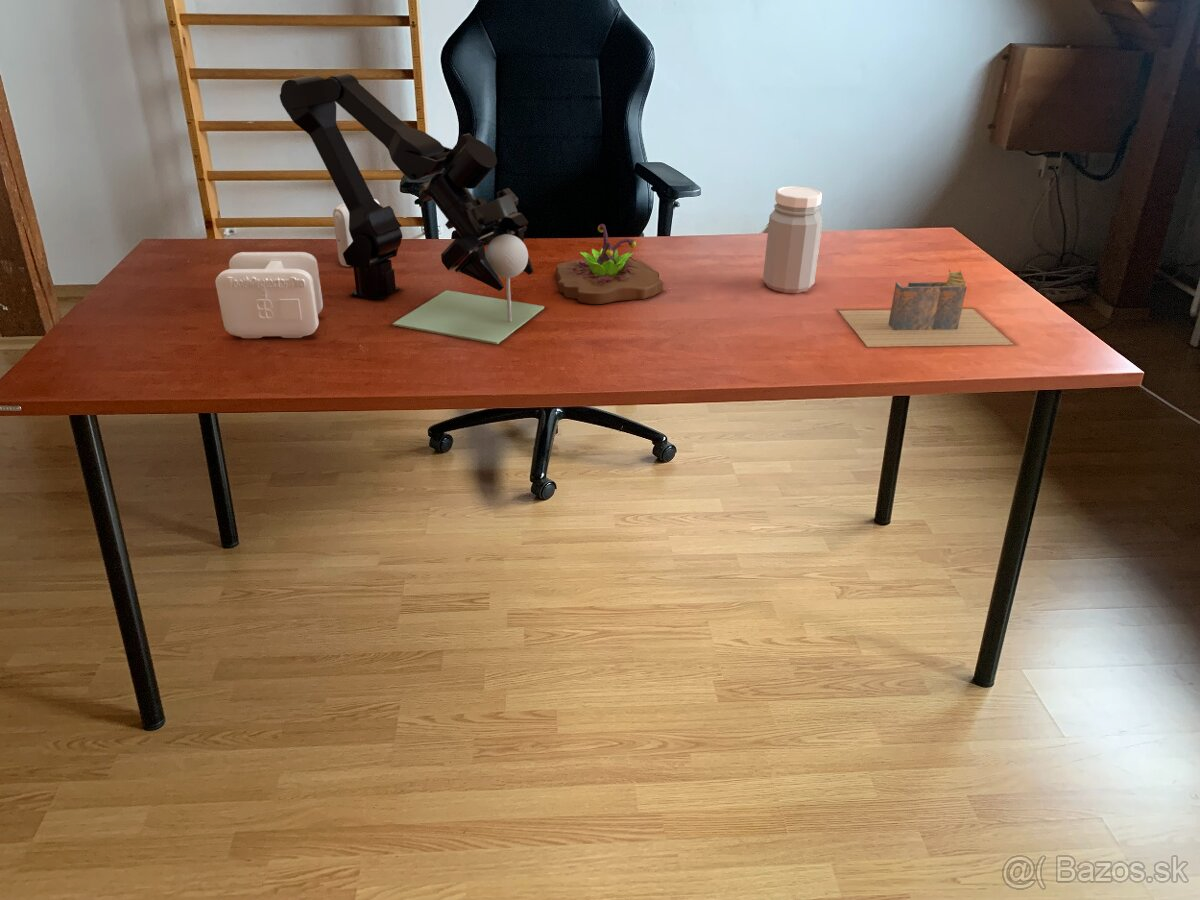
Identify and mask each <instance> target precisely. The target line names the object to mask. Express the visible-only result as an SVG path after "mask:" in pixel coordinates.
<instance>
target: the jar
mask: <svg viewBox="0 0 1200 900" xmlns="http://www.w3.org/2000/svg"><path fill="white" fill-rule="evenodd" d="M822 198H823V193H822V192H821V190H818V189H816V188H813V187H807V186H801V185H799V186H798V185H797V186H796V185H790V186H782V187H780V188H778V189H775V198H774V201H775V204H774V205H773V207H774V210H773V211H772V212H771V213H770V214H769V218H768V228H767V236H766V247H765V254H764V255H765V257H764V266H763V274H762V275H763V276H762V279H763V282H764V284H765V285H766V287H767V288H769V289H770V290H773V291H775V292H780V293H784V294H798V293H804V292H806V291H808V290H809V289H810V288H812V286H813V285H815V282H816V274H817V265H818V259H819V251H820V244H821V237H822V230H823V222H824V220H823V218H822V216H821V214H820V213H819V212H821V208H820V205H822V202H823V201H822V200H823V199H822Z"/></svg>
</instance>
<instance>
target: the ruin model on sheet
mask: <svg viewBox="0 0 1200 900" xmlns="http://www.w3.org/2000/svg"><path fill="white" fill-rule="evenodd" d="M967 288H968V287H967V285H966V280H965V278H964V275H963V272H962V270H961V269H959V271H951V269H948V278H947V280H946V281H932V282H931V281H926V282H925V281H921V282H920V281H917V282H915V281H914V282H910V281H909V282H908V285H907V286H902V285H901V284H900V283H899V282H895V286H894V292H893V296H892V302H891V309H860V310H859V309H857V310H855V309H854V310H853V309H852V310H848V309H847V310H846V309H845V310H838V312H839V313H840V315H841V316H842V318H844V320H845V321H846V323H847V324H848V325H849V326H850V328H851V329H852V330H853V331H854V333H856V335H857V336H858V337H859V338H860V340H862V342H863V343H864V345H865V346H866V347H867V348H878V347H879V348H880V347H885V348H886V347H944V346H945V347H947V346H949V347H950V346H1005V345H1006V346H1008V345H1012V346H1013V345H1015V344H1014V343H1012V341H1011V340H1009V339H1008V338H1007V337H1006V336H1004V335H1003V334H1002V333H1001V332H1000V331H999V330H998V329H996V327H994V326H993V325H992V324H991V323H989V321H988V320H986V319H985V318H984V317H983V316H982V315H981V314H979V313H978V312H977V311H976V310H975V309H973V308H963V306H964V302H965V298H966V297H965V296H966V292H967Z"/></svg>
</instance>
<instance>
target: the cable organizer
mask: <svg viewBox="0 0 1200 900" xmlns="http://www.w3.org/2000/svg"><path fill="white" fill-rule="evenodd" d="M228 266H229V268H228V269H225V270H223V271H221V272H220V273H219V274H218V275H217V277H216V278H215V283H214V284H215V287H216V293H217V299H218V304H219V308H220V313H221V319H222V323H223V328H224V329H225V331H226V332H227V333H228V334H230V335H232V336H235V337H240V338H242V339H261V338H263V337H281V338H283V339H300V338H303V337H307V336H310V335H313V334H314V333H315V332H316V331H317V329H318V327H319V324H320V323H319V322H320V320H319V315H320V313H321V312H322V310H323V308H324V302H323V294H322V287H321V286H322V285H321V279H320V271H319V265H318V260H317V258H316V257H315V256H314V255H313V254H311V253H309V252H305V251H241V252H237V253H235V254H234V255H233V256H232V257H231V258H230V259H229V261H228Z"/></svg>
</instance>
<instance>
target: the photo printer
mask: <svg viewBox="0 0 1200 900" xmlns="http://www.w3.org/2000/svg"><path fill="white" fill-rule="evenodd" d="M374 200H375V201H376V202H377V203H378V204H379V205H380V206H382V205H381V203H380V201H379V200H378V199H377V198H374ZM332 219H333V226H334V234H335V241H336V248H337V257H338V262H339V263H340V265H341V266H342V267H347V268H350V267H351V266H350V265H347V264H346V262H345V259H344V256H343V253H344V251H345V250H346V249H347V248H348V247H349V245H350V244H351V243H352V242H353V240H352V237H351V235H350V232H349V211H348V209H347V207H346V205H345V203H344V202H342V203H340V204H339V205H337V206H336V207H335V208H334V209H333V212H332Z"/></svg>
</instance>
